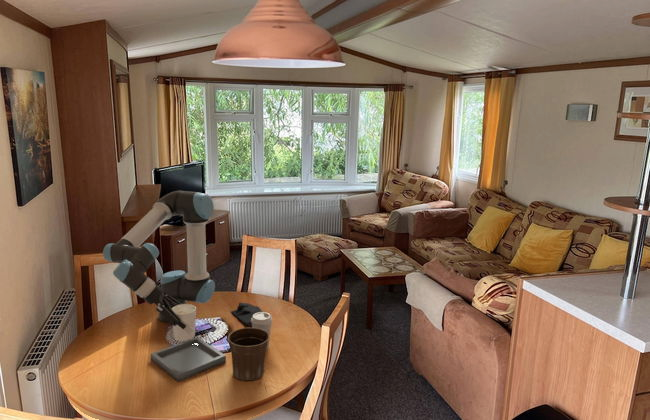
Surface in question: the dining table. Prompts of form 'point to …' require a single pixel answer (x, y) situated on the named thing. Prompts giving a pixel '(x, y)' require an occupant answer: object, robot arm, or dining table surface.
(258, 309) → the dark grey crumpled cloth
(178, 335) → the candle holder
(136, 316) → the dining table surface
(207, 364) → the tray
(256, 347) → the plant pot
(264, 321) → the coffee cup
